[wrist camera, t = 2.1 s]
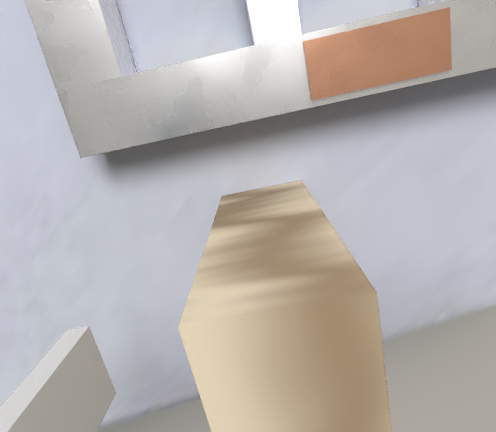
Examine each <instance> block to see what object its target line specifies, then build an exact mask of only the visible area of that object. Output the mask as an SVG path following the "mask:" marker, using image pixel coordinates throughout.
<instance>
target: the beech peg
mask: <svg viewBox="0 0 496 432" xmlns="http://www.w3.org/2000/svg"><path fill="white" fill-rule="evenodd" d="M178 329H179V332H180V335H181V338H182V341H183V344H184V347H185V351H186V354H187V357H188V360H189V363H190V366H191V369H192V373H193V376H194V379H195V382H196V385H197V388H198V391H199V395H200V398H201V401H202V404H203V407H204V410H205V413H206V417H207V420H208V423H209V426H210V429H211V432H392V427H391V418H390V409H389V399H388V391H387V381H386V372H385V365H384V354H383V345H382V336H381V327H380V318H379V309H378V299H377V292H376V291H375V289H374V288H373V286H372V285H371V283H370V282H369V280H368V279H367V277H366V276H365V274H364V273H363V271H362V270H361V268H360V267H359V265H358V264H357V262H356V261H355V259H354V258H353V256H352V255H351V253H350V252H349V250H348V249H347V247H346V246H345V244H344V243H343V241H342V240H341V238H340V237H339V235H338V234H337V232H336V231H335V229H334V228H333V226H332V225H331V223H330V222H329V220H328V219H327V217H326V216H325V214H324V213H323V211H322V210H321V208H320V207H319V205H318V204H317V202H316V201H315V199H314V198H313V196H312V195H311V193H310V192H309V190H308V189H307V187H306V186H305V184H304V183H303V181H302V180H299V181H294V182H289V183H284V184H279V185H274V186H270V187H265V188H260V189H255V190H250V191H245V192H240V193H235V194H230V195H225V196H222V198H221V201H220V204H219V207H218V210H217V213H216V216H215V219H214V222H213V225H212V228H211V231H210V234H209V237H208V240H207V243H206V246H205V249H204V252H203V255H202V258H201V261H200V264H199V267H198V269H197V272H196V275H195V278H194V281H193V284H192V287H191V290H190V293H189V296H188V299H187V302H186V305H185V308H184V311H183V314H182V317H181V320H180V323H179V326H178Z"/></svg>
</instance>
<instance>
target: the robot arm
mask: <svg viewBox="0 0 496 432" xmlns="http://www.w3.org/2000/svg"><path fill="white" fill-rule="evenodd" d="M115 394H116V392H115V389H114V387H113V384H112V382H111V379H110V377H109V374H108V372H107V369H106V367H105V364H104V362H103V359H102V357H101V354H100V352H99V350H98V347H97V345H96V342H95V340H94V337H93V335H92V332H91V330H90V327H89V326H87V327H81V328H76V329H70V330H67V331H66V332H65V333H64V334H63V335H62V336H61V338H60V339H59V340H58V341H57V342H56V343H55V345H54V346H53V347H52V348H51V349H50V350H49V352H48V353H47V354H46V355H45V356H44V357H43V358H42V360H41V361H40V362H39V363H38V364H37V365H36V367H35V368H34V369H33V370H32V371H31V372H30V374H29V375H28V376H27V377H26V378H25V379H24V381H23V382H22V383H21V384H20V385H19V386H18V387H17V389H16V390H15V391H14V392H13V393H12V394H11V396H10V397H9V398H8V399H7V400H6V401H5V403H4V404H3V405H2V406H1V407H0V432H97V430H98V428H99V426H100V424H101V422H102V420H103V418H104V416H105V414H106V412H107V410H108V408H109V406H110V404H111V402H112V400H113V398H114V396H115Z"/></svg>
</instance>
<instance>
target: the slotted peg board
mask: <svg viewBox="0 0 496 432" xmlns="http://www.w3.org/2000/svg"><path fill="white" fill-rule="evenodd" d="M24 1H25V4H26V6H27V9H28V12H29V15H30V18H31V20H32V23H33V26H34V29H35V32H36V34H37V37H38V40H39V43H40V46H41V48H42V51H43V54H44V57H45V60H46V63H47V65H48V68H49V71H50V74H51V77H52V79H53V82H54V85H55V88H56V91H57V93H58V96H59V99H60V102H61V105H62V107H63V110H64V113H65V116H66V119H67V121H68V124H69V127H70V130H71V133H72V135H73V138H74V141H75V144H76V147H77V149H78V152H79V155H80V158H83V157H87V156H92V155H96V154H101V153H105V152H110V151H115V150H119V149H124V148H128V147H133V146H138V145H142V144H147V143H151V142H156V141H161V140H165V139H170V138H174V137H179V136H183V135H188V134H193V133H197V132H202V131H206V130H211V129H216V128H220V127H225V126H229V125H234V124H239V123H243V122H248V121H252V120H257V119H262V118H266V117H271V116H275V115H280V114H284V113H289V112H294V111H298V110H303V109H307V108H312V107H317V106H321V105H326V104H330V103H335V102H340V101H344V100H349V99H353V98H358V97H363V96H367V95H372V94H376V93H381V92H385V91H390V90H395V89H399V88H404V87H408V86H413V85H418V84H422V83H427V82H431V81H436V80H441V79H445V78H450V77H454V76H459V75H463V74H468V73H473V72H477V71H482V70H486V69H491V68H496V0H418V7H416V8H412V9H408V10H404V11H399V12H395V13H391V14H386V15H382V16H378V17H374V18H369V19H365V20H361V21H357V22H352V23H348V24H344V25H339V26H335V27H331V28H327V29H322V30H318V31H314V32H310V33H305V34H302V32H301V26H300V19H299V12H298V5H297V0H245V4H246V9H247V15H248V20H249V25H250V31H251V36H252V42H253V46H250V47H245V48H241V49H237V50H233V51H228V52H224V53H220V54H216V55H211V56H207V57H203V58H198V59H194V60H190V61H186V62H181V63H177V64H173V65H169V66H164V67H160V68H156V69H151V70H147V71H143V72H139V73H137V72H136V69H135V65H134V62H133V58H132V55H131V51H130V48H129V44H128V41H127V37H126V34H125V30H124V27H123V23H122V20H121V16H120V13H119V9H118V6H117V2H116V0H24Z"/></svg>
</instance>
